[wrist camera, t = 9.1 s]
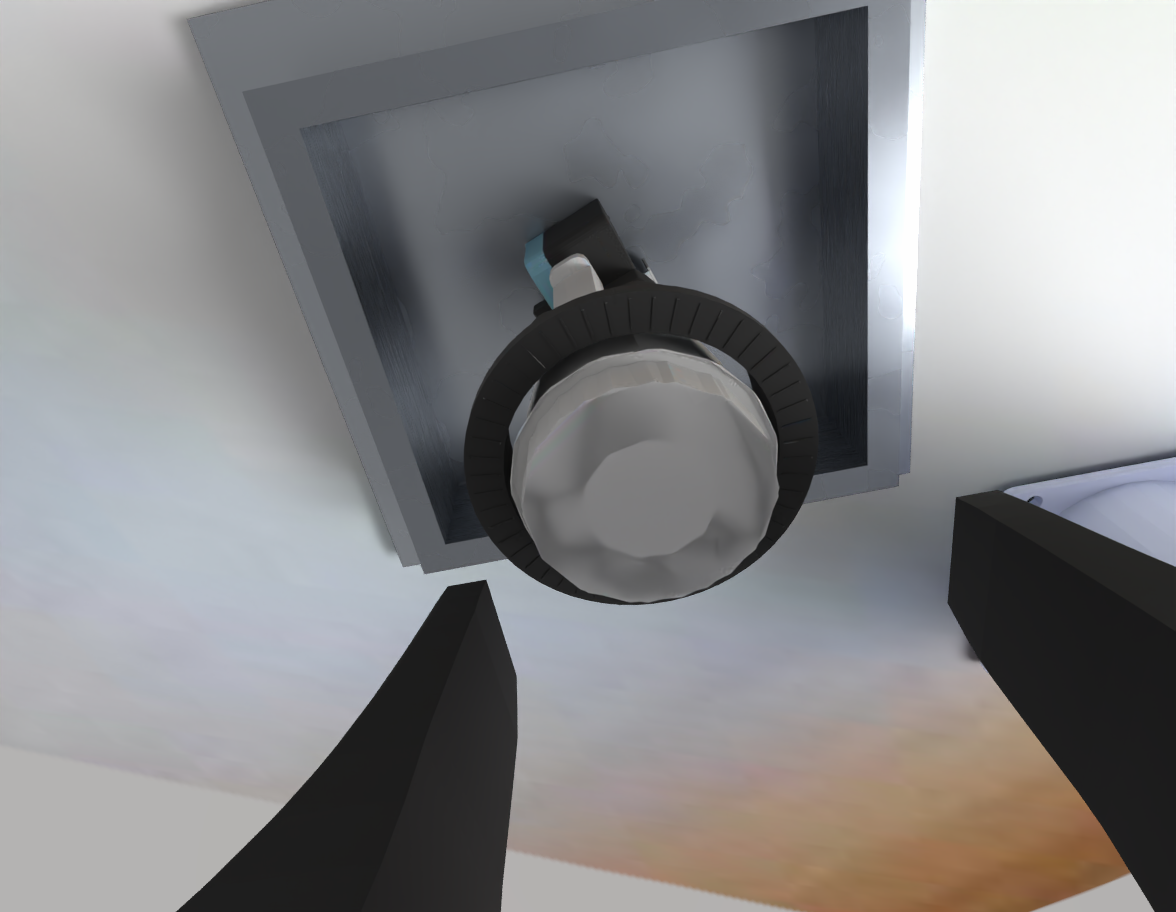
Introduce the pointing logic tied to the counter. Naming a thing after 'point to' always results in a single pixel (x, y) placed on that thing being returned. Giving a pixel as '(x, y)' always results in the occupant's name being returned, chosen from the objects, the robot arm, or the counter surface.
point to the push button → (635, 430)
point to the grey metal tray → (580, 201)
